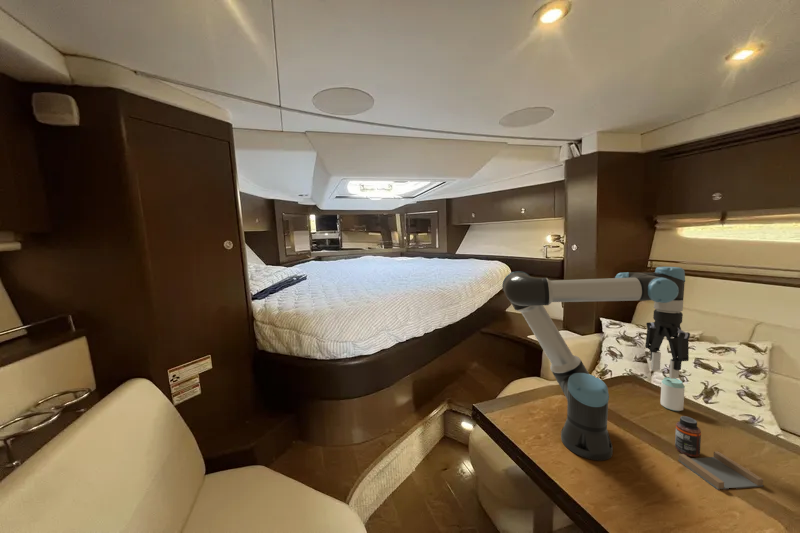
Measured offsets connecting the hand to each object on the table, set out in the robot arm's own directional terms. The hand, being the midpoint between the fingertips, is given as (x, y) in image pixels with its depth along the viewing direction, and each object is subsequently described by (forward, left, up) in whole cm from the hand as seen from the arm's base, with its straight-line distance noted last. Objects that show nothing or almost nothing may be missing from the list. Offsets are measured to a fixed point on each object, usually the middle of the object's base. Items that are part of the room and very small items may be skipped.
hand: (664, 373), depth 103 cm
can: (+20, +15, -23) cm, 34 cm away
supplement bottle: (0, -9, -23) cm, 25 cm away
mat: (0, -18, -23) cm, 29 cm away
